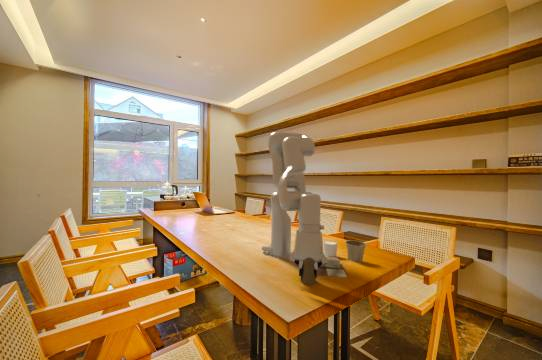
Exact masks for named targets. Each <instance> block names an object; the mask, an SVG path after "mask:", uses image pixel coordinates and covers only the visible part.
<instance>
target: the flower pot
mask: <svg viewBox="0 0 542 360" xmlns="http://www.w3.org/2000/svg"><path fill="white" fill-rule="evenodd" d="M344 242H345V243H344V244H345V246H346V250H347V252H346V253H347V260H348V261H352V262H358V263H363V258H364V254H365V253H364V252H365V249H366V247H367V243H365V242H363V241H360V240H352V239H350V240H345V241H344Z"/></svg>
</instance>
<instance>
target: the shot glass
mask: <svg viewBox="0 0 542 360" xmlns="http://www.w3.org/2000/svg"><path fill="white" fill-rule="evenodd" d="M338 245H339V244H338V242H336V241H332V240H331V241H330V240H325V241H323V253H324V255H325V256H326V257H333V258H335V257H337V250H338Z"/></svg>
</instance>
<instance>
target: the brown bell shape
mask: <svg viewBox="0 0 542 360" xmlns="http://www.w3.org/2000/svg"><path fill="white" fill-rule="evenodd" d="M314 264H315V261H314V260H313V259H312V258H306V259H305V260H303V264H302V265H303V278H302V280H301V278H299V281H300V283H301V284H303V285H305V286H306V285H308V286H314V285H316V284H317V278H316V277H315V278H314V269H315V268H314Z"/></svg>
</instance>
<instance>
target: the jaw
mask: <svg viewBox="0 0 542 360" xmlns="http://www.w3.org/2000/svg"><path fill="white" fill-rule="evenodd" d="M317 262H318V261H317ZM340 262H341V261H340V259H339V258H338V259H330V258H327V262H326V263H324V264H322V265H321V266H320V267H328V268H340V264H341V263H340Z"/></svg>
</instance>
